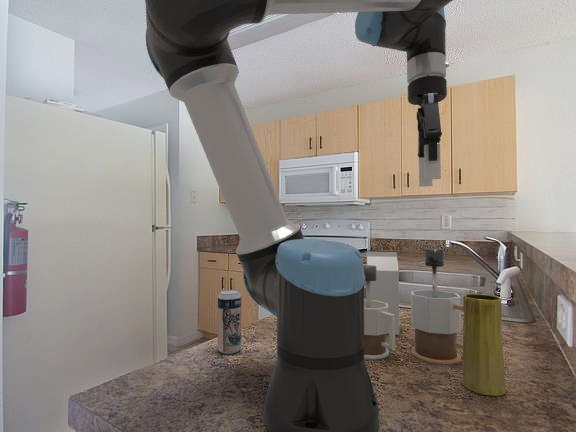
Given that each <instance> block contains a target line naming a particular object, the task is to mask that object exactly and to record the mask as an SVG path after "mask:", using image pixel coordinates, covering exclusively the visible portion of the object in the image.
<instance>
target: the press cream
mask: <svg viewBox="0 0 576 432" xmlns="http://www.w3.org/2000/svg"><path fill="white" fill-rule="evenodd" d="M363 267H364V274H365V299H364V360H371V361H372V360H373V361H374V360H375V361H376V360H378V361H379V360H383V359H385V358H388V357H389V356H390V350H391V351H395V350H396V335H395V315H394V314H390V313H388V303H384V302H380V301H375V300H371V281H376V266H373V265H367V264H363ZM388 318H389V332H388ZM386 333H389V334H388V342H387V339H386V337H387V336H386V335H387V334H386Z"/></svg>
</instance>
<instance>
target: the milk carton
mask: <svg viewBox="0 0 576 432" xmlns="http://www.w3.org/2000/svg"><path fill="white" fill-rule="evenodd" d="M366 265H373V266H376V281H371V300H375V301H380V302H384V303H388V313H390V314H394V315H395V336H396V335H400V287H399V286H400V283H399V282H400V279H399V278H400V277H399V276H400V275H399V261H398V252H397V251H366ZM388 332H389V318H388ZM386 335H389V333H386Z"/></svg>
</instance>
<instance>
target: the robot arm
mask: <svg viewBox="0 0 576 432" xmlns="http://www.w3.org/2000/svg"><path fill="white" fill-rule="evenodd" d="M453 1H454V0H144V3H145V14H146V15H145V17H146V19H145V20H146V31H145V44H146V45H145V46H146V50H147V54H148V57H149V59H150V62H151V64H152V65H153V67H154V69H155V71H156V72H157V73H158V74H159V76H160V77H161V78H162V79H163V80H164V84H165V85H166V87H167V90H168V92H169V95H170V97H172V98H174V99H176V100H178V101H180V102H182V103H184V105H185V107H186V111H187V113H188V115H189V119H190V120H191V122H192V123H191V124H193V127H194V130H195V132H196V134H197V137H198V139H199V142H200V144H201V147H202V149H203V151H204V154H205V157H206V159H207V161H208V163H209V166H210V168H211V169H210V170H211V171H212V174H213V175H214V178H215V180H216V183H217V185H218V187H219V190H220V193H221V196H222V197H223V201H224V203H225V205H226V207H227V210H228V212H229V214H230V217H231V220H232V222H233V224H234V227H235V228H236V232H237V234H238V237H239V242H238V246H237V248H236V249H235V253H236V255H237V258H238V260H239V263H240V265H241V268H242V270H243V271H242V274H243V275H242V276H243V278H242V279H243V283H244V287H245V289H246V291H247V293H248V295H249V296H250V298H251V299H252V300H253V302H255V303H256V304H257V305H258V306H261V308H263V309H265V310H267V312H270V313H271V314H272V315H273V316H275V317H276V346H277V348H276V361H275V364H274V367H273V371H272V373H271V377H270V381H269V383H268V388H267V390H266V393H265V395H264V401H263V422H264V426H265V427H266V429H267V431H268V432H378V431H379V429H380V428H379V427H380V421H379V420H380V414H379V413H380V411H379V409H380V408H379V402H378V400H377V397H376V395H375V391H374V388H373V384H372V381H371V378H370V375H369V370H367V366H366V361H365V359H364V300H365V284H366V281H365V274H364V267H363V265H364V260H363V256H362V253H361V251H360V250H359V249H358V248H356V247H355V246H354V245H351V244H348V243H344V242H340V241H336V240H335V241H334V240H327V239H317V238H316V239H315V238H305V236H304V235H303V232H302V229H301V227H300V225H299V224H296V223H294V222H293V221H290V220H289V219H288V218H287V216H286V213H285V211H284V208H283V205H282V201H280V197H279V195H278V193H277V189H276V187H275V184H274V183H273V180H272V177H271V175H270V172H269V170H268V168H267V165H266V162H265V160H264V157H263V154H262V152H261V149H260V147H259V144H258V142H257V139H256V136H255V133H254V131H253V129H252V126H251V124H250V121H249V119H248V116H247V113H246V111H245V108H244V106H243V104H242V101H241V98H240V96H239V93H238V91H237V88H236V86H235V83H236V81H237V78H238V75H239V73H240V70H239V67H238V65H237V62H236V59H235V57H234V54H233V52H232V48H231V47H230V43H229V41H228V38H229V35H230V32H231V31H232V30H233V29H235V28H237V27H240V26H243V25H249V24H250V25H252V24H255V25H256V24H261V23H262V22H263V21H265V18H266V17H268V15H269V16H270V15H299V14H300V15H301V14H302V15H304V14H309V15H310V14H337V13H338V14H339V13H341V14H343V13H344V14H345V13H357V14H356V17H355V22H354V29H355V30H354V34H355V37H356V38H357V40H358V41H359V42H361V43H364V44H367V45H371V46H372V47H379V48H384V49H390V50H395V51H400V52H405V53H406V82H407V84H408V85H407V102H408V103H409V104H411V105H414V106H419V107H418V108H417V112H416V120H417V128H416V129H417V132H418V133H417V134H418V135H417V137H418V139H417V141H418V142H417V143H418V145H417V146H418V147H417V148H418V149H417V157H418V180H419V181H418V187H419V188H421V187H433V180H441V178H442V177H441V175H442V174H441V173H442V171H441V168H442V167H441V166H442V165H441V143H440V142H441V137H442V136H443V131H442V127H441V126H442V125H441V118H440V116H441V115H440V107H439V102H442V101H443V100H445V99H446V98H447V96H448V89H447V85H448V83H447V78H446V77H447V68H449V66H450V63H449V62H446V59H447V58H446V56H447V55H446V53H447V52H446V27H447V20H446V16H445V7H446V6H447V5H449V3H451V2H453Z"/></svg>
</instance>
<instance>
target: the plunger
mask: <svg viewBox="0 0 576 432" xmlns="http://www.w3.org/2000/svg"><path fill="white" fill-rule="evenodd" d="M444 250H445V249H443V248H425V249H424V266H427V267H431V287H432V288H431V290H432V298H437V290H438V268H440V267H444V266H445V263H444V260H445V259H444V258H445V256H444V255H445V254H444Z"/></svg>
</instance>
